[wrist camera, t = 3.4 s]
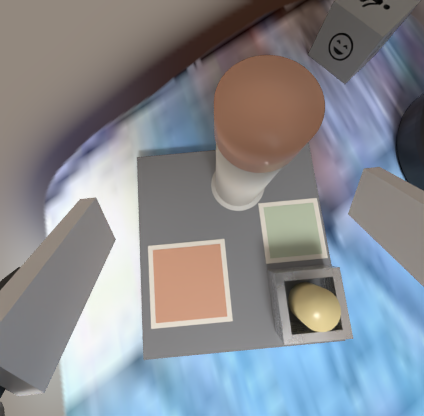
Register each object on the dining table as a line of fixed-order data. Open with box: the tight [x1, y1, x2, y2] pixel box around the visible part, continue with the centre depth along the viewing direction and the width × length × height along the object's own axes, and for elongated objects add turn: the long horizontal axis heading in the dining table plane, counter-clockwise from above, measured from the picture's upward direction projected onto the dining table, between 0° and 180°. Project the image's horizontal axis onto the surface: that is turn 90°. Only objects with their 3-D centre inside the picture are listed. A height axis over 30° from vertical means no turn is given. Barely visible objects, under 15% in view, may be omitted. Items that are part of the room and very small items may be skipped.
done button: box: [288, 282, 341, 332], centre depth 15 cm, size 3×3×2 cm
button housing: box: [267, 265, 353, 345], centre depth 16 cm, size 5×5×2 cm
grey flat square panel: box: [137, 142, 345, 360], centre depth 18 cm, size 16×17×1 cm
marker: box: [214, 55, 325, 206], centre depth 13 cm, size 4×4×11 cm
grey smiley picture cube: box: [308, 0, 421, 84], centre depth 20 cm, size 5×5×5 cm
